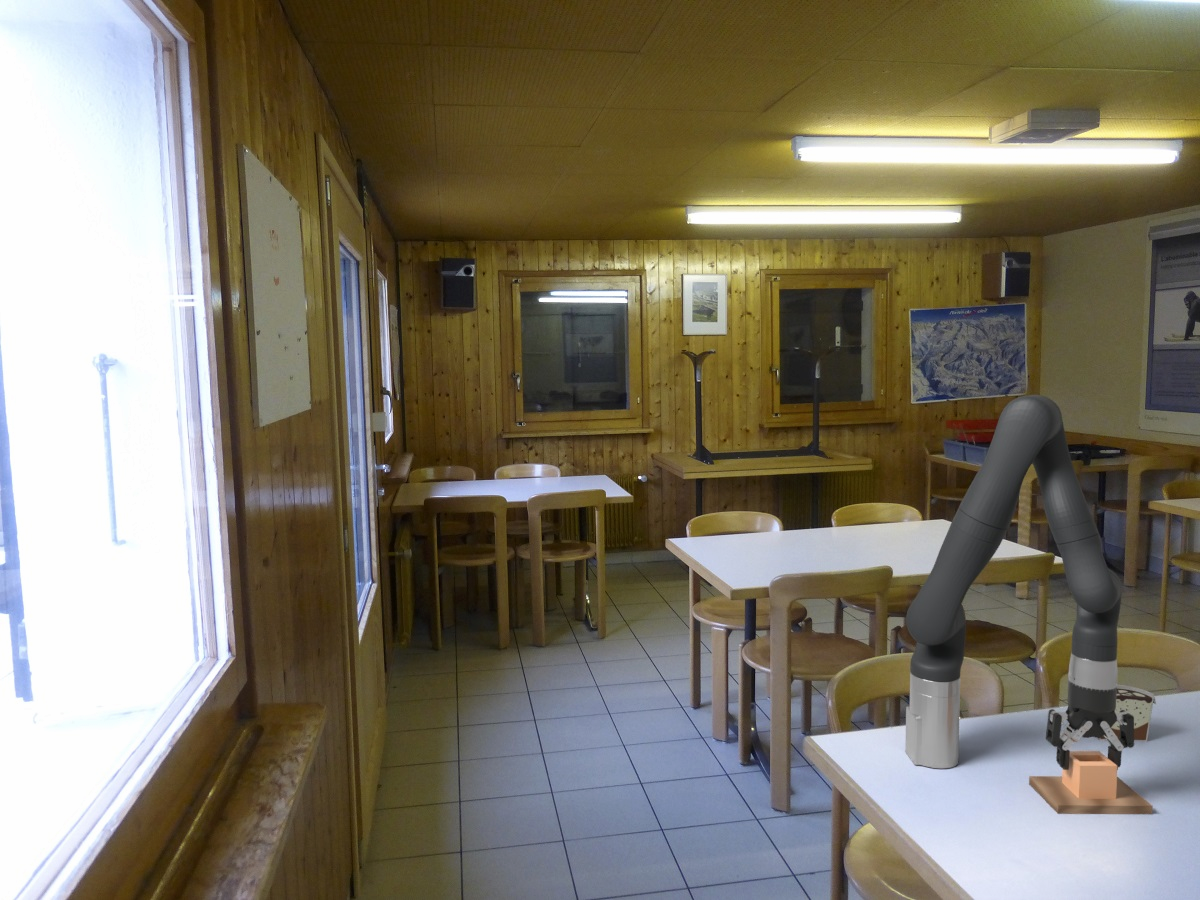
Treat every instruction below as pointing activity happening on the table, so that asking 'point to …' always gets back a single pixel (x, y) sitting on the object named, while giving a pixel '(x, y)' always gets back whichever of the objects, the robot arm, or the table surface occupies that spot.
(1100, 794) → the orange open box
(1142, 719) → the food container
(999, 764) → the table surface
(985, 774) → the table surface
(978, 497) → the robot arm
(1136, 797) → the base board
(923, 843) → the table surface
